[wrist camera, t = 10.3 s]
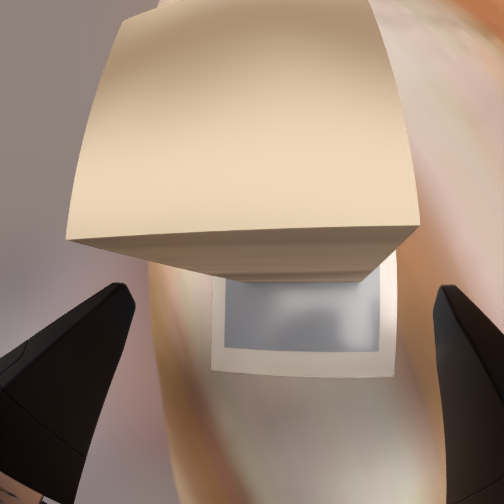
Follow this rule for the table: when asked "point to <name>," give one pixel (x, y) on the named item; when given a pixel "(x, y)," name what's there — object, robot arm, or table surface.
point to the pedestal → (307, 327)
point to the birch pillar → (248, 143)
